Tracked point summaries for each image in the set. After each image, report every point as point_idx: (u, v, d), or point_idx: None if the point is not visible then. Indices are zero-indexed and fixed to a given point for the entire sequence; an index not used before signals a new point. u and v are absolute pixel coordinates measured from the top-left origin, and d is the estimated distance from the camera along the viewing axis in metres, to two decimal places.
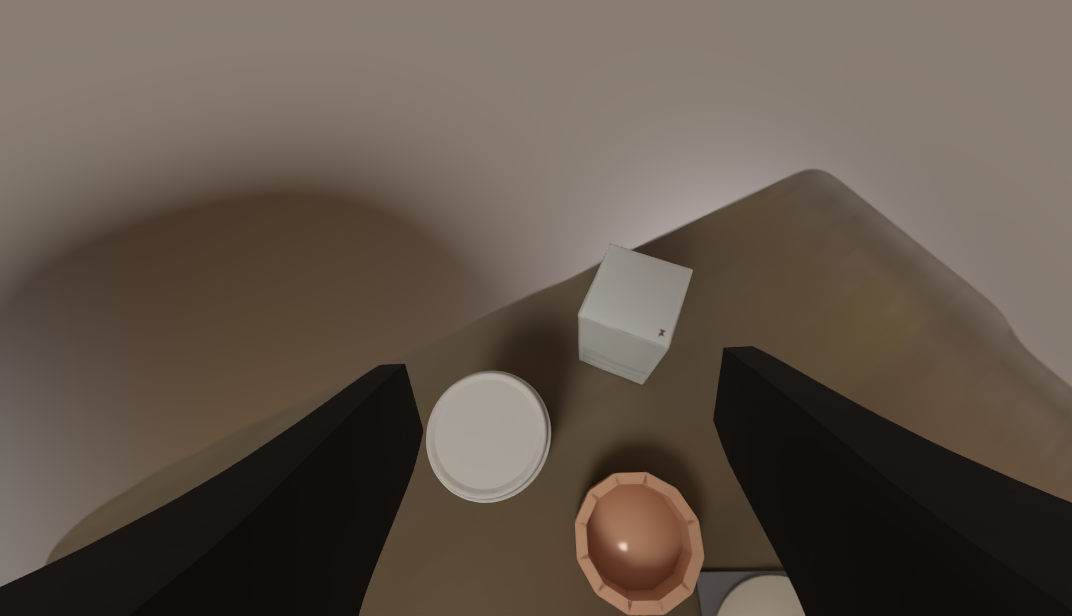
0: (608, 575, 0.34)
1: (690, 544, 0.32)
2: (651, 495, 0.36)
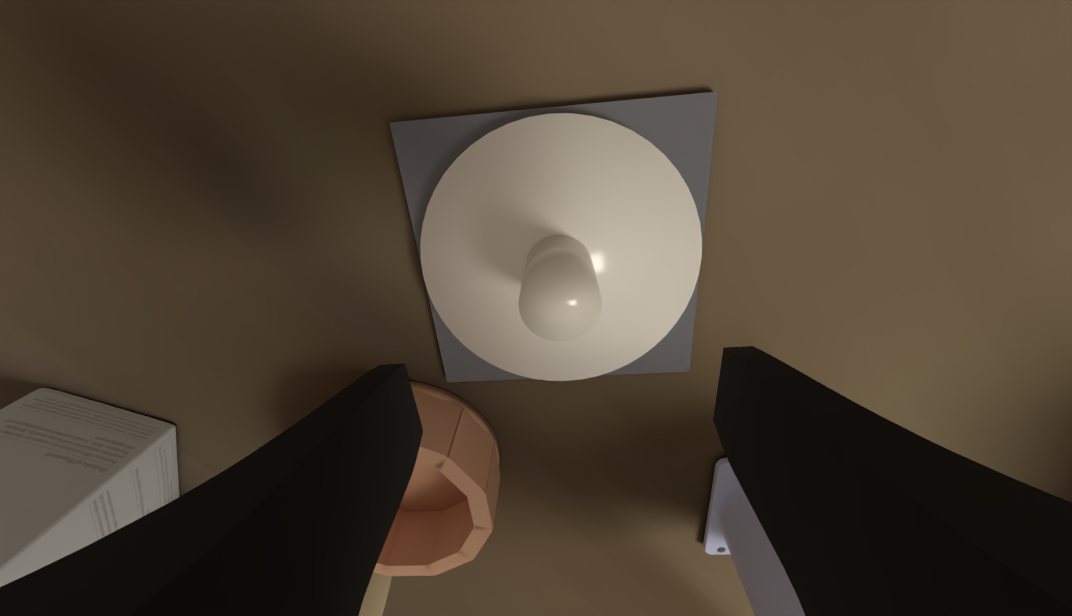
0: None
1: None
2: None
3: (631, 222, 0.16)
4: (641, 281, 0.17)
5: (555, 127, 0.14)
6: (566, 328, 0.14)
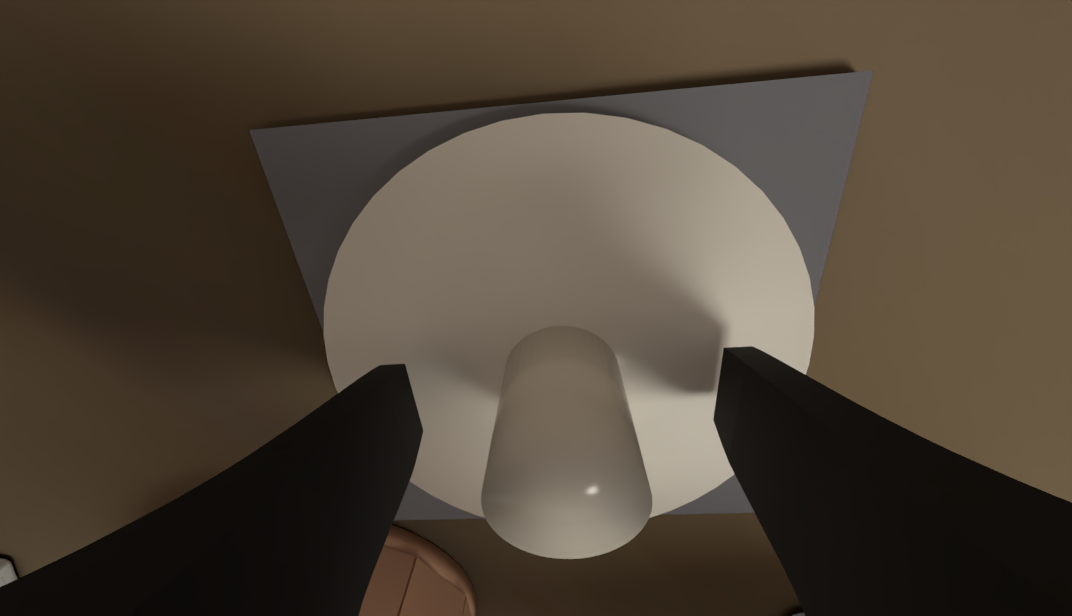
0: None
1: None
2: None
3: (691, 306, 0.09)
4: (702, 396, 0.10)
5: (555, 140, 0.07)
6: (577, 540, 0.07)
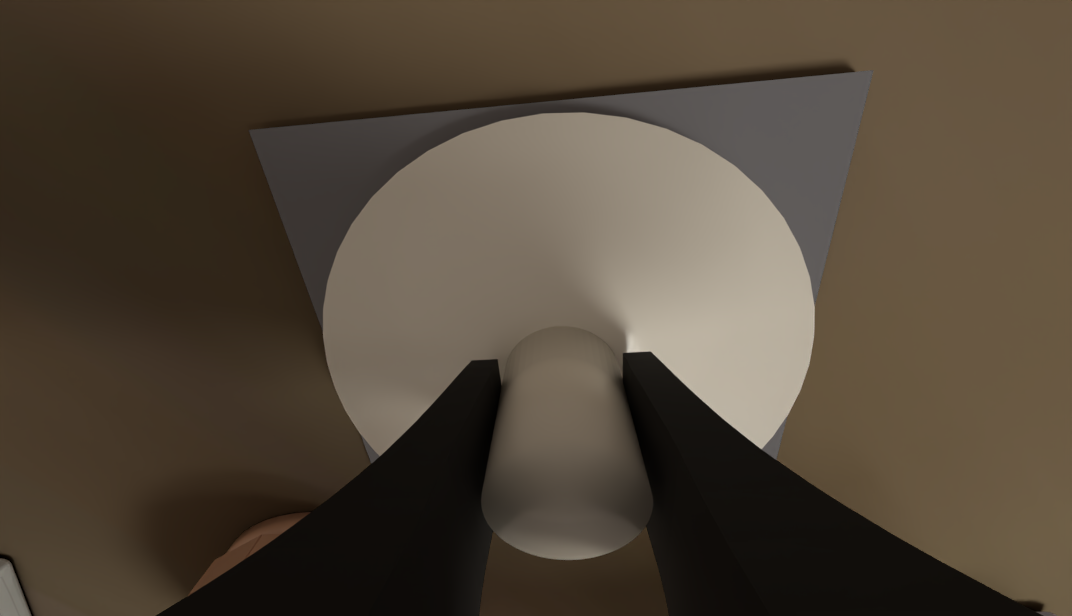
0: None
1: None
2: None
3: (691, 306, 0.09)
4: (703, 396, 0.10)
5: (555, 140, 0.07)
6: (578, 541, 0.07)
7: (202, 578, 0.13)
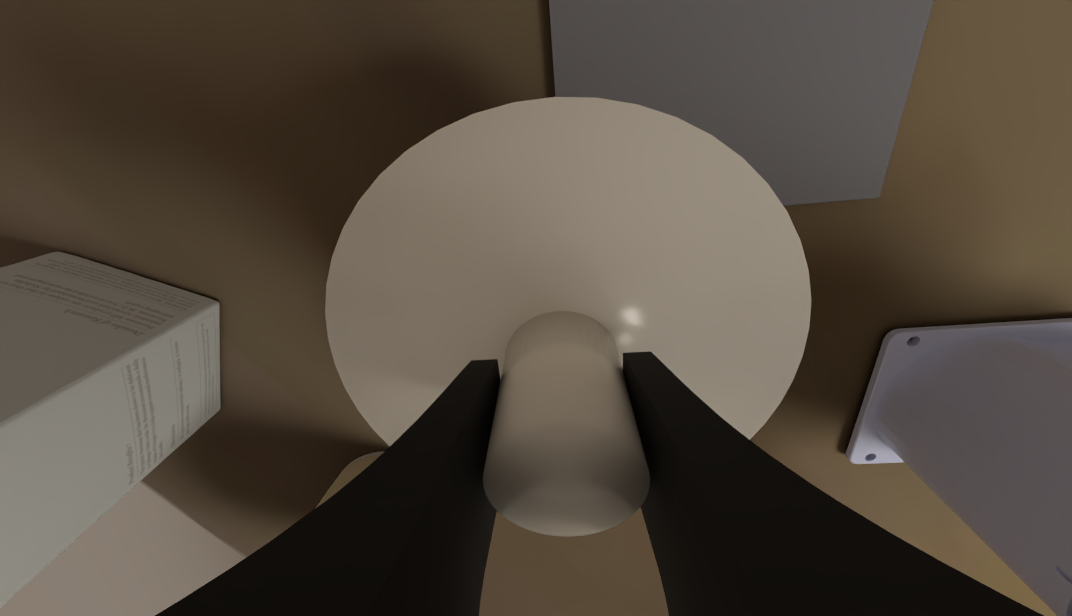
0: None
1: None
2: None
3: (691, 296, 0.09)
4: (698, 384, 0.10)
5: (566, 124, 0.07)
6: (575, 518, 0.07)
7: None
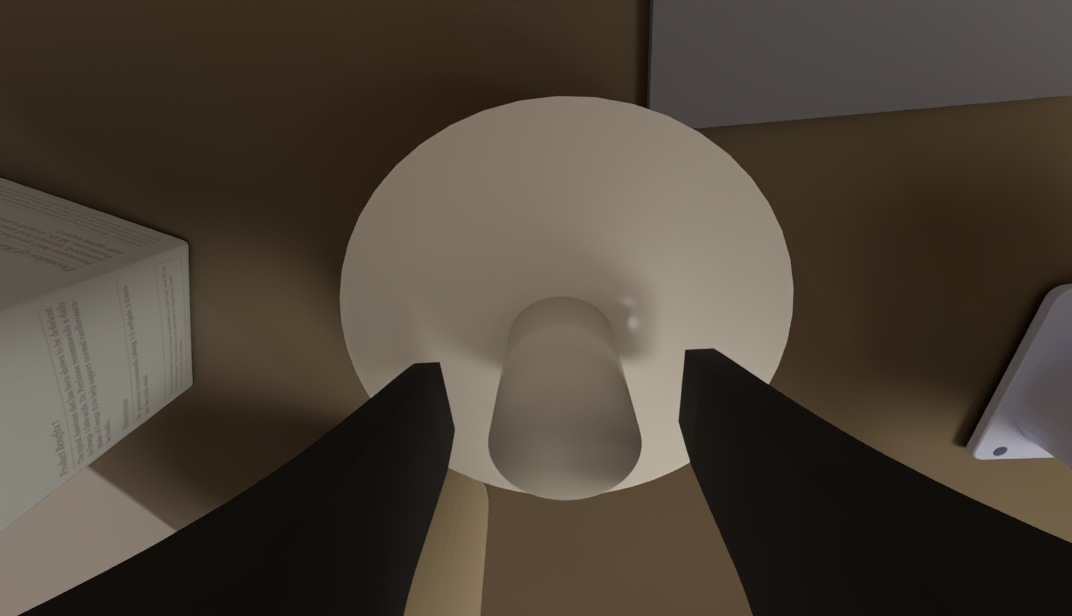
0: None
1: None
2: None
3: (682, 282, 0.10)
4: None
5: (567, 121, 0.08)
6: (572, 481, 0.08)
7: None
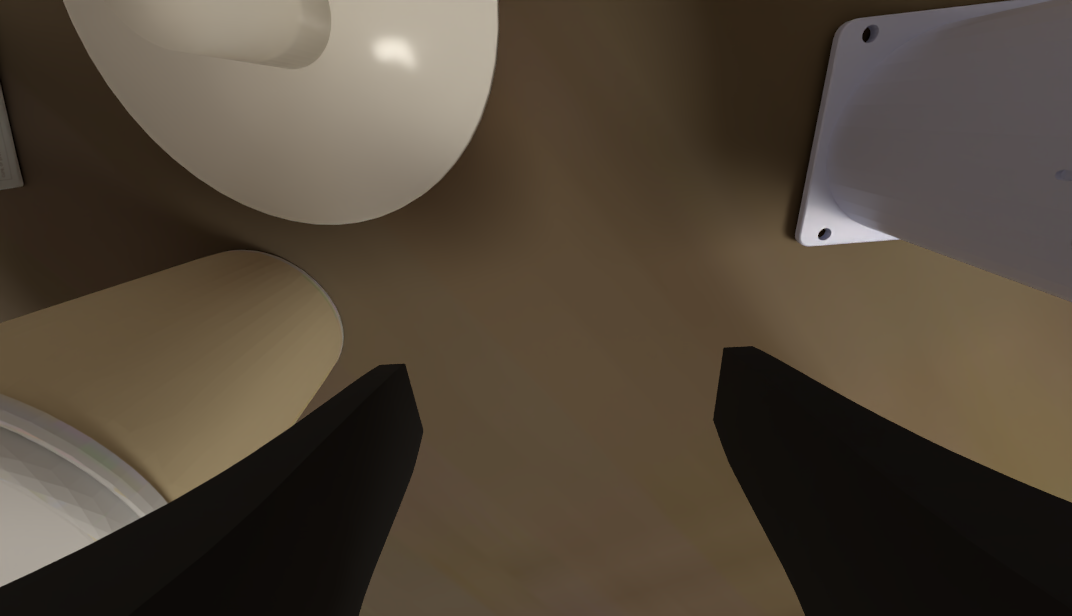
0: None
1: None
2: None
3: None
4: (411, 36, 0.11)
5: None
6: (186, 20, 0.08)
7: None
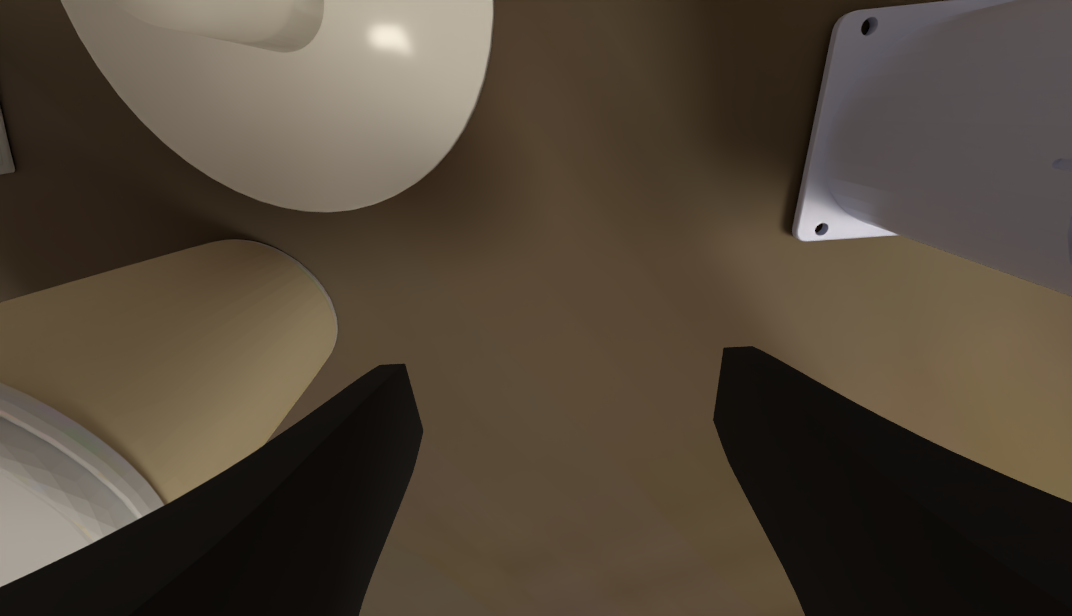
0: None
1: None
2: None
3: None
4: (405, 20, 0.11)
5: None
6: None
7: None
